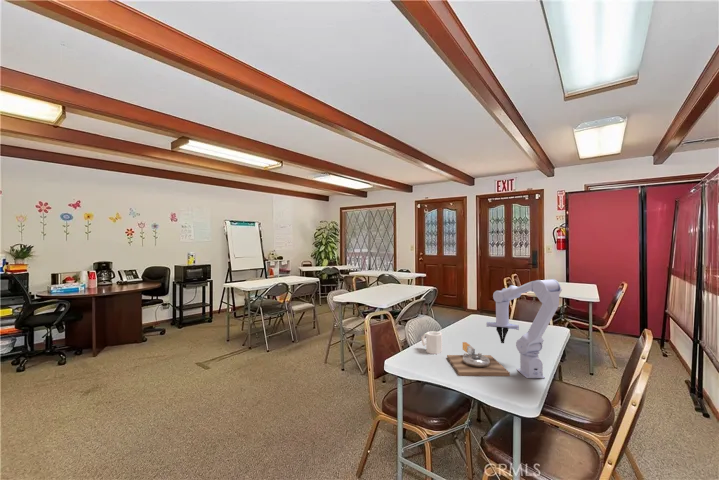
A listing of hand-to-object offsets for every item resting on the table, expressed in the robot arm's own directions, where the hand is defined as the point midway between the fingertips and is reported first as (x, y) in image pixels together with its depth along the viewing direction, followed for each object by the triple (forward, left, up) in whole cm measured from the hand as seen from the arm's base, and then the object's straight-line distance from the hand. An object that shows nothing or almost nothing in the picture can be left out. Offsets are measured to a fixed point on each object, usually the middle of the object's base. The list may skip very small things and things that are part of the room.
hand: (502, 342), depth 158 cm
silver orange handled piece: (-2, +15, -8) cm, 17 cm away
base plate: (-6, +15, -9) cm, 19 cm away
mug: (+16, +32, -10) cm, 37 cm away
